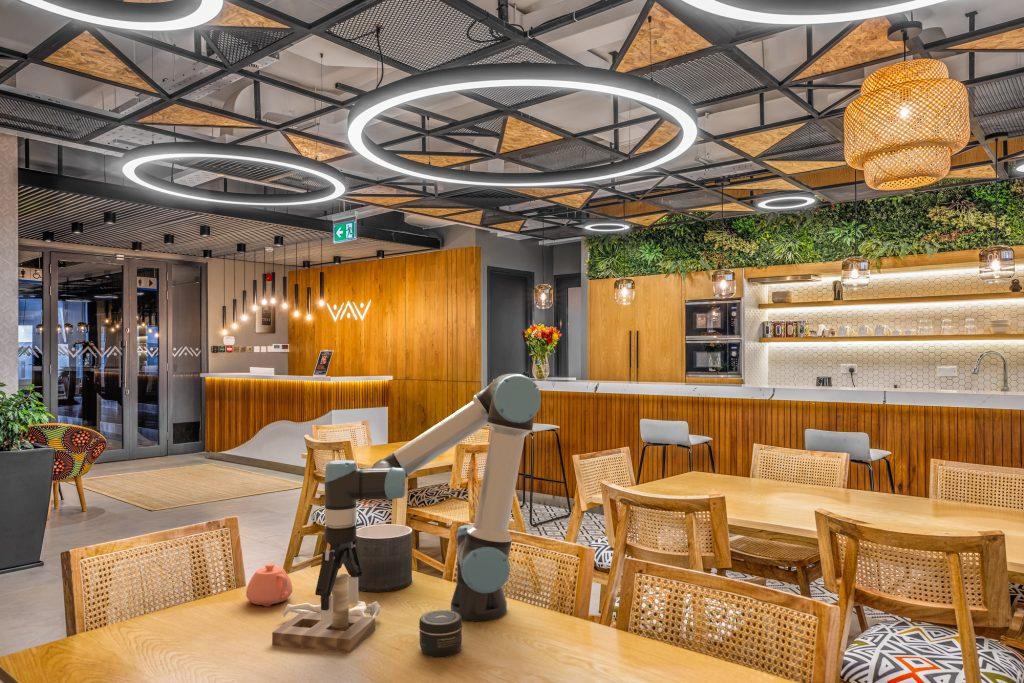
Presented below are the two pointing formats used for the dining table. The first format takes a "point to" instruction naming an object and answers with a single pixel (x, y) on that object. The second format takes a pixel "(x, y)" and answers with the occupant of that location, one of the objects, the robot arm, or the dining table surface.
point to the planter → (385, 557)
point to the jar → (440, 633)
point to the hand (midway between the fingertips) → (340, 612)
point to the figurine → (356, 611)
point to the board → (322, 633)
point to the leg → (341, 603)
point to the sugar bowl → (269, 586)
